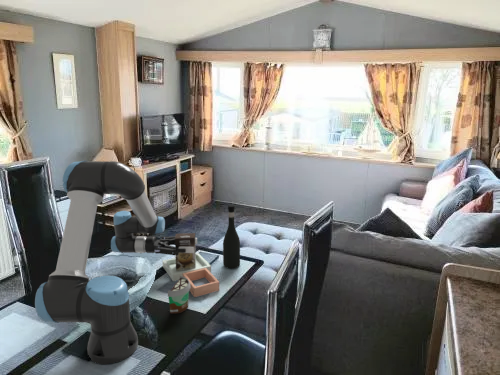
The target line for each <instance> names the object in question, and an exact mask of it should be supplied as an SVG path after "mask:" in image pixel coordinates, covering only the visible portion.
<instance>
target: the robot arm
mask: <svg viewBox="0 0 500 375" xmlns="http://www.w3.org/2000/svg"><path fill="white" fill-rule="evenodd" d="M62 175H63V176H62V182H63V183H62V187H63V190H64V192H65V193H66V196H67V198H68V199H69V200H70V202H69V207H68V212H67V216H66V219H65V220H66V221H65V224H64V231H63V234H62V239H61V244H60V248H59V249H60V250H59V253H58V256H57V257H58V258H57V263H56V268H55V270H54V271H53V272H51V274H49V275H48V279H47V281H45V282H43V283H41V284H40V285H39V287H38V288H37V290H36V293H35V298H34V307H35V312H36V313H37V316H38V317H39V319H40V320H41V321H44V322H47V323H49V322H50V323H54V324H55V323H56V324H59V323H89V324H90V329H91V330H90V334H89V338H88V342H87V346H86V347H87V349H86V350H87V356H88V355H89V357H90V358H91V360H92V361H91V360H90V361H91V362H93V361H94V362H93V363H95V362H96V363H95V364H98V363H99V365H110V364H109V363H112V364H115V363H114V362H116V363H119V362H121V361H124V360H126V359H127V358H129V357H131V356H132V355H133V354H134V353H135V351H137V348H138V345H139V339H138V338H139V337H138V334H137V331H136V330H135V328H134V326H133V324H132V322H131V312H130V294H129V293H130V292H129V290H128V285H127V283H126V282H125V281H124V279H122V278H121V277H118V276H115V275H101V276H96V277H93V278H91V279H90V277H88V275H87V274H86V270H87V263H88V260H89V259H88V258H89V252H90V247H91V243H92V235H93V231H94V226H95V219H96V214H97V209H98V204H101V203H102V202H103V201H104V195H118V196H120V198H122V199H123V200H126V202H127V204H128V205H129V207H130V208H131V210H132V212H133V214H134V215H133V216H132V213H131V211H128V210H121V211H117V212H116V213H114V214H113V227H114V232H115V235H114V236H112V238H111V240H110V249H111V251H112V252H113V253H118V254H119V253H121V254H124V253H127V254H128V253H129V254H130V253H131V254H133V253H134V254H138V253H139V254H145V253H147V254H155V255H157V254H159V255H160V254H161V255H169V256H176V255H179V254H178V253H194V247H179V249H178V248H177V247H175V246H173V245H175V235H174V236H173V235H172V236H161V238H160V239H158V238H157V237H156V236H146V235H144V236H143V235H141V236H140V235H138V236H137V235H134V234H155V235H156V234H163V233H164V231H165V230H166V229H165V228H166V220H165V218H164V217H163V216H157V214H156V212H155V210H154V209H153V208H154V207H153V206H152V204H151V202H150V199H149V198H148V195H147V193H146V185H145V182H144V181H143V179H142V177H141V176H140V175H139V174H138V173H137V171H135V169H133V168H131V167H129V166H128V165H126V164H124V163H122V162H119V161H115V160H114V161H113V160H111V161H110V160H109V161H99V160H98V161H95V160H94V161H93V160H91V161H90V160H89V161H88V160H81V161H73V162H71V163H70V164H68V165H67V167H66V168H65V170H64V172H63V174H62ZM197 244H198V238H197V237H195V245H197ZM89 357H88V358H89Z"/></svg>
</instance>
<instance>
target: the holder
mask: <svg viewBox="0 0 500 375" xmlns="http://www.w3.org/2000/svg"><path fill="white" fill-rule="evenodd" d="M183 277H185V278H187V279H188V280H189V282H190V285H191V288H190V291H189V293H191V295H192V296H193V297H194V298H197V297H200V296H204V295H208V294H211V293H214V292H219V291H220V280H218V279H217V278H216V277H215V275H214V274H213V273H212V272H210V271H209V270H208V269H207V268H204V269H200V270H195V271H191V272H187V273H183ZM204 278H205V279H206V280H207V281H208V283H204V284H201V285H197V286H196V285H195V284H194V283H193V281H196V280H197V281H198V280H200V279H204Z"/></svg>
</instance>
